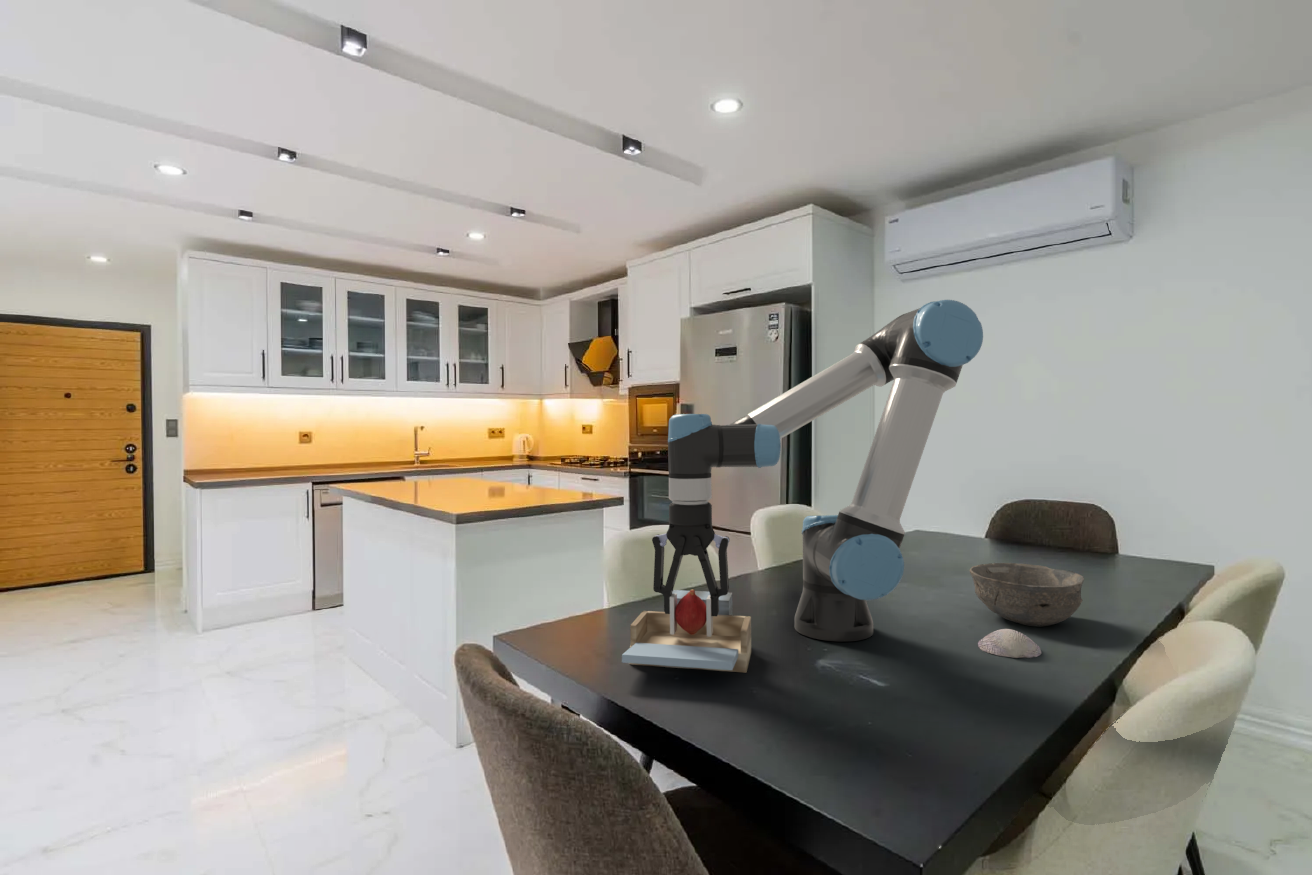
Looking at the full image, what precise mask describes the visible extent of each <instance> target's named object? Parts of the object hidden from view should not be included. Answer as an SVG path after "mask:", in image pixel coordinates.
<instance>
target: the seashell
mask: <svg viewBox="0 0 1312 875" xmlns="http://www.w3.org/2000/svg"><path fill="white" fill-rule="evenodd" d="M977 646H978V648H979V649H980V650H981V651H982V652H985V653H988V654H992V655H995V656H999V657H1008V658H1013V659H1018V658H1026V659H1029V658H1030V659H1032V658H1037V657H1039V656H1041V654H1042V651H1041V650H1042V649H1041V647H1040V646H1039V645H1038V644H1037V643H1036V642H1034V640H1032V639H1031V638H1030V637H1028V635H1025V634H1024V633H1022V632H1021V631H1018V630H1015V629H1010V628H1002V629H998V630H995V631H992V632H990V633H988V634H987V635H985V636H984V637H982V638H981V639H980V640H979V641H978V642H977Z"/></svg>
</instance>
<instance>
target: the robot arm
mask: <svg viewBox="0 0 1312 875" xmlns="http://www.w3.org/2000/svg"><path fill="white" fill-rule="evenodd" d="M983 341H984V330H983V326H982V323H981V321H980V320H979V318H978V316H977V314H976V312H975V311H974V310H973V309H972V308H971V307H969V306H968V305H967V304H965V303H963V302H960V301H958V300H955V299H941V300H937V301H930V302H928V303H925V304H923V305H922V306H920V307H918V308H916V309H914V310H911V311H908V312H906V313H903V314H901V315H899V316H897V317H896V318H894V319H893V320H891V321H890V322H889V323H887V324H886V325H884V326H883V327H882V328H881V329H879V330H878V331H876V332H875V333H873V334H872V335H871V336H869V337H868V338H866V339H865V340H863V341H861V342H859V343H857V345H855V347H854V351H853V352H852V353H851V354H848V355H847V356H846V357H844V358H842V359H841V360H838V361H836V362H835V363H834V364H832V365H829V367H827V368H825V369H823V370H821V371H820V372H818V373H816V374H814V375H813V376H811V377H808V378H807V379H806V380H804V381H802V382H801V383H798V384H797V385H795V386H793V387H792V388H790V389H789V390H786V391H785V392H783V393H781V394H779V395H778V396H776V397H775V398H773V399H771V400H769V401H768V402H766V403H764V404H762V405H761V406H759V407H757V408H755V409H754V410H751V411H750V412H749V413H747V414H746V415H744V416H742V417H740V418H739V419H737V420H735V421H733V422H732V423H730V424H722V425H720V424H713V422H712V418H711V415H710V414H707V413H680V414H679V413H676V414H673V415H672V416H670V418H669V420H668V434H667V436H668V437H667V445H668V448H667V453H668V456H667V457H668V499H669V500H670V501H671V502H670V504H668V523H669V524H668V529H667V531H666V533H662V534H655V535H654V536H653V537H652V538H651V541H652V542H651V543H652V545H653V548H654V561H653V562H654V564H653V565H654V566H653V571H654V572H653V591H654V593H659V594H661V595H662V596H663V612H665V614H670V634H675V633H676V631H677V621H676V620H675V609H676V606H677V594H672V592H673V590H674V588H675V584H676V580H677V577H678V574H679V570H680V566H681V564H682V561H683V557H684V556H688V555H691V556H695V557H697V558H698V561H699V563H700V566H701V569H702V573H703V575H704V579H705V582H706V586H707V589H708V592H710V595H708V597H707V599H706V615H707V637H711V636H712V633H713V616H717V615H718V613H719V597H720V596H723V595H727V593H728V592H729V590H730V578H729V577H730V576H729V564H728V563H729V562H728V547H729V542H730V537H729V536H727V535H725V536H722V535H719V534H716V532H715V530H714V529H713V504H711V502H709V501H710V500H712V499H713V496H712V495H713V494H712V490H713V489H712V468H758V469H761V468H765V467H775V466H776V465H777V464H778V462H779V460H780V458H781V451H782V450H781V448H782V447H781V446H782V444H781V439H783V438H785V437H786V436H788V435H790V434H792V433H793V432H795V431H797V430H799V429H801V428H802V427H803V426H806V425H808V424H809V423H811V422H813V421H814V420H816V419H818V418H819V417H821V416H823V415H824V414H825V415H826V414H827V413H828V412H830V411H831V410H834V409H835V408H837V407H839V406H840V405H842V404H844V403H845V402H847V401H850V399H852V398H854V397H856V396H857V395H860V394H861V393H863V392H865V391H866V390H868V389H870V388H872V387H873V386H876V387H884V386H885V385H886V384H889V383H890V382H892V381H893V382H892V384H891V387H890V390H889V393H888V397H887V400H886V403H885V405H884V408H883V411H882V414H881V417H880V420H879V422H878V426H877V428H876V431H875V434H874V436H873V439H872V443H871V446H870V449H869V451H868V455H867V457H866V460H865V463H864V466H863V469H862V472H861V474H860V478H859V480H858V484H857V486H856V490H855V492H854V495H853V498H852V500H851V503H850V504H849V505H847V506H845V507H843V508H842V509H840V510H839V511H838V513H837V514H831V515H829V514H827V515H825V514H824V515H807V516H805V517H804V519H803V520H802V529H801V536H802V581H803V582H802V593H801V594H800V598H799V602H798V605H797V608H796V612H795V615H794V629H795V631H796V632H797V633H799V634H801V635H803V636H805V637H808V638H811V639H817V640H821V641H827V642H855V641H856V642H857V641H862V640H866V639H869V638H871V636H873V635H874V621H873V617H872V614H871V611H870V608H869V606H868V602H867V601H874V600H879V599H881V598H884V597H886V596H887V595H889V594H890V593H891V592H893V591H894V590H895V589H896V588H897V587H898V586H899V583H900V582H901V581H902V578H903V577H904V576H903V575H904V571H905V560H904V557H903V554H902V552H901V545H902V542H903V541H904V537H905V533H906V532H905V530H904V528H903V526H902V524H901V520H900V519H901V516H902V513H903V512H904V508H905V506H906V502H907V499H908V496H909V493H910V490H911V488H912V485H913V483H914V479H915V476H916V474H917V473H916V472H917V470H918V467H919V464H920V461H921V459H922V456H923V452H924V450H925V447H926V445H927V441H928V439H929V435H930V433H931V430H932V427H933V423H934V421H935V419H936V416H937V413H938V409H939V407H940V403H941V400H942V397H943V395H944V393H945V392H947V391H949V390H951V389H953V388H955V387H956V386H957V383H958V380H959V377H960V375H961V371H962V369H963V365H966V364H968V363H969V362H971V361H972V360H973V359H974V358H975V357H976V356H977V355H978V353H979V352H980V350H981V349H982V348H981V347H982V345H983ZM667 540H668V541H669V542H670V544H671V546H672V547H673V548H674V554H673V556H672V562H671V565H670V567H669V568H670V569H669V571H668V572H669V573H668V576H667V579H666V581H665V584H664V568H665V567H664V566H665V546H666V545H667ZM713 541H714V543H715V547H716V549H718V552H717V554H718V567H719V568H718V569H719V585H720V587H719V586H718V583H717V580H716V576H715V573H714V571H713V567H712V564H711V560H710V557H709V553H708V548H709V546H710V545H711V543H712V542H713Z"/></svg>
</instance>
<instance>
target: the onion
mask: <svg viewBox="0 0 1312 875" xmlns="http://www.w3.org/2000/svg"><path fill="white" fill-rule="evenodd" d="M689 591H690V592H688V593H687V594H686V595H685V596H684V597H682V598H681V600H680V601H679V602H678V604H677V606H676V609H675V620H676V621H677V623H678V625H679V626H680V627H681V628H682V629H683V630H685V631H686V632H688V633H689V634H691V635H694V634H695V633H697V631H699V630H700V629H701V628H702V627H703V626H704V625H705V623H706V621H707V615H706V604H705V603H704V602H703V600H702V599H701V598H700V597H698V596H697V595H695V591H696V590H695V589H693V588H692V589H690V590H689Z"/></svg>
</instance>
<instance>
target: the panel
mask: <svg viewBox="0 0 1312 875" xmlns="http://www.w3.org/2000/svg"><path fill="white" fill-rule="evenodd" d="M629 647H630V646H629ZM737 658H738V649H728V648H713V647H697V646H681V645H665V644H650V643H635V644H634V645H633V646H632V647H630V648H628V649H627V650H625V652H623V653H622V654H621V663H624V664H625V663H626V664H630V663H637V664H651V665H662V666H668V667H667V668H674V667H682V668H681V669H688V668H707V669H721V670H733V668H734V665H735V663H736V661H737Z"/></svg>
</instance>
